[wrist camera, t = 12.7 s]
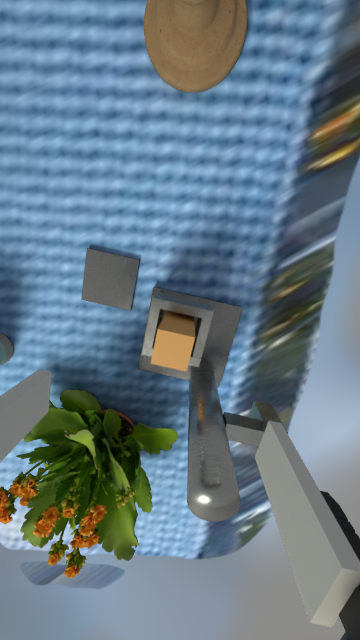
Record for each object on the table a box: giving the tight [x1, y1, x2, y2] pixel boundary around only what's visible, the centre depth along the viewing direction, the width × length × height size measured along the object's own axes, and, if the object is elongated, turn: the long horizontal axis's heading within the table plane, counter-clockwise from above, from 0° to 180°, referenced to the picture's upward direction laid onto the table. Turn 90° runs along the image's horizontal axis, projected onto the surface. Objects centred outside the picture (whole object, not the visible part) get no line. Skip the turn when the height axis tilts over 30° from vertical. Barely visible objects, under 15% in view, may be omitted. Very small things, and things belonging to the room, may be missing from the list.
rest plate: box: [81, 248, 140, 310], centre depth 35 cm, size 8×8×1 cm
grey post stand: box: [138, 287, 288, 521], centre depth 26 cm, size 14×19×22 cm
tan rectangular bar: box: [151, 310, 195, 372], centre depth 30 cm, size 4×4×12 cm
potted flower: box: [0, 390, 178, 578], centre depth 34 cm, size 25×24×18 cm
